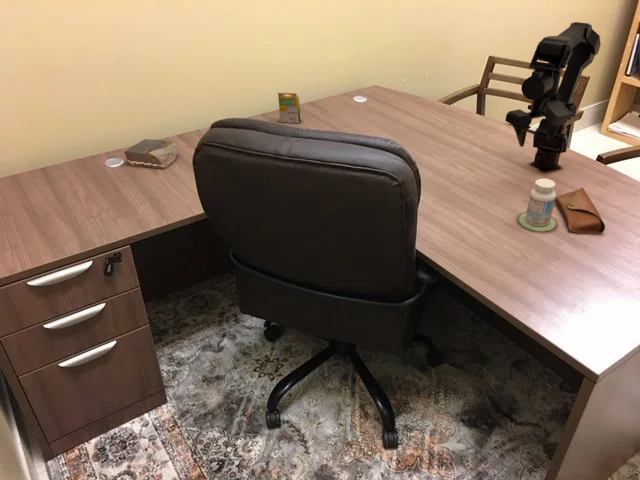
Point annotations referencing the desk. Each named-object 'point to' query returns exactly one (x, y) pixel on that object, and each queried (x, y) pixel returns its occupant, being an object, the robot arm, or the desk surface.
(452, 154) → the desk surface
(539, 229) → the felt coaster
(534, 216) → the pill bottle
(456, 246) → the desk surface
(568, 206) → the sunglasses case
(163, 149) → the geological specimen
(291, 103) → the crayon box
